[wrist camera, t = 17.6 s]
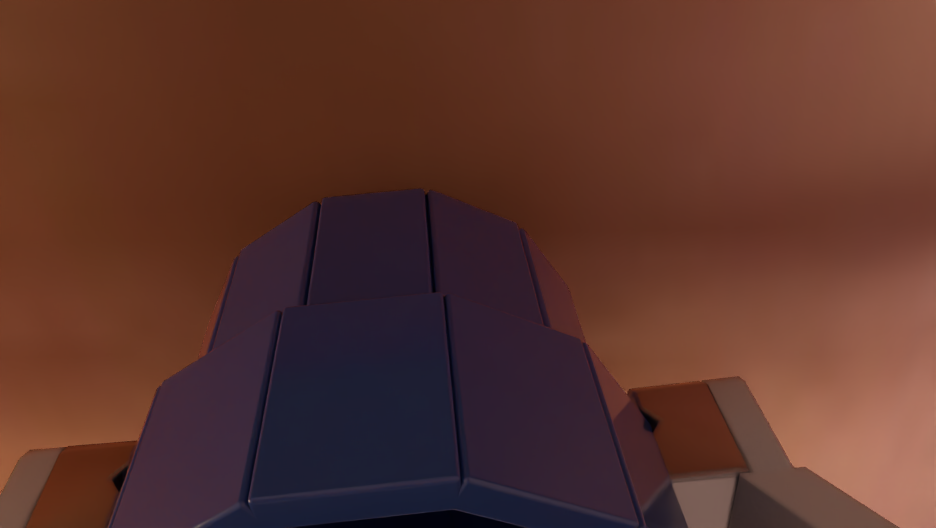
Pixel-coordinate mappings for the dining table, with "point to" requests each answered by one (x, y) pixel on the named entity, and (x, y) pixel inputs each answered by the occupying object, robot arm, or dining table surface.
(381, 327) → the blue cup
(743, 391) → the robot arm
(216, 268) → the dining table surface
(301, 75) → the dining table surface
